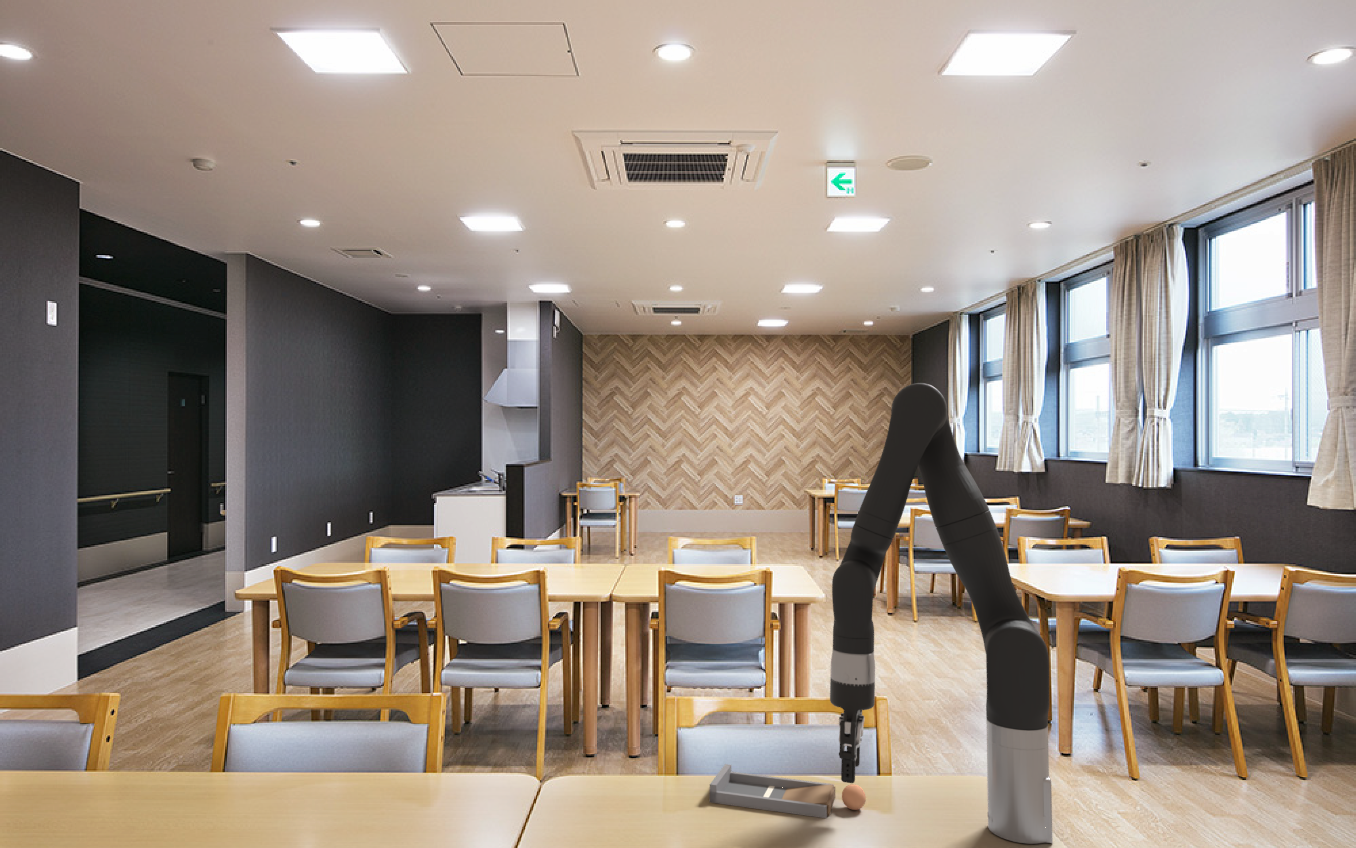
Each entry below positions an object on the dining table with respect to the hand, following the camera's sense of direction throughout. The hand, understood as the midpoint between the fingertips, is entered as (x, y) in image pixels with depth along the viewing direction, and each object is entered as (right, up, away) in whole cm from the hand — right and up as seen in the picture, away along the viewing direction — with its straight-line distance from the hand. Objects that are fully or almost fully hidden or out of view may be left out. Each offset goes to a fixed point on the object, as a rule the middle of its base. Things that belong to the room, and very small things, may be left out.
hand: (850, 773), depth 138 cm
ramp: (-7, -6, +2) cm, 9 cm away
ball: (0, -4, 0) cm, 4 cm away
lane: (-13, -6, +4) cm, 15 cm away
